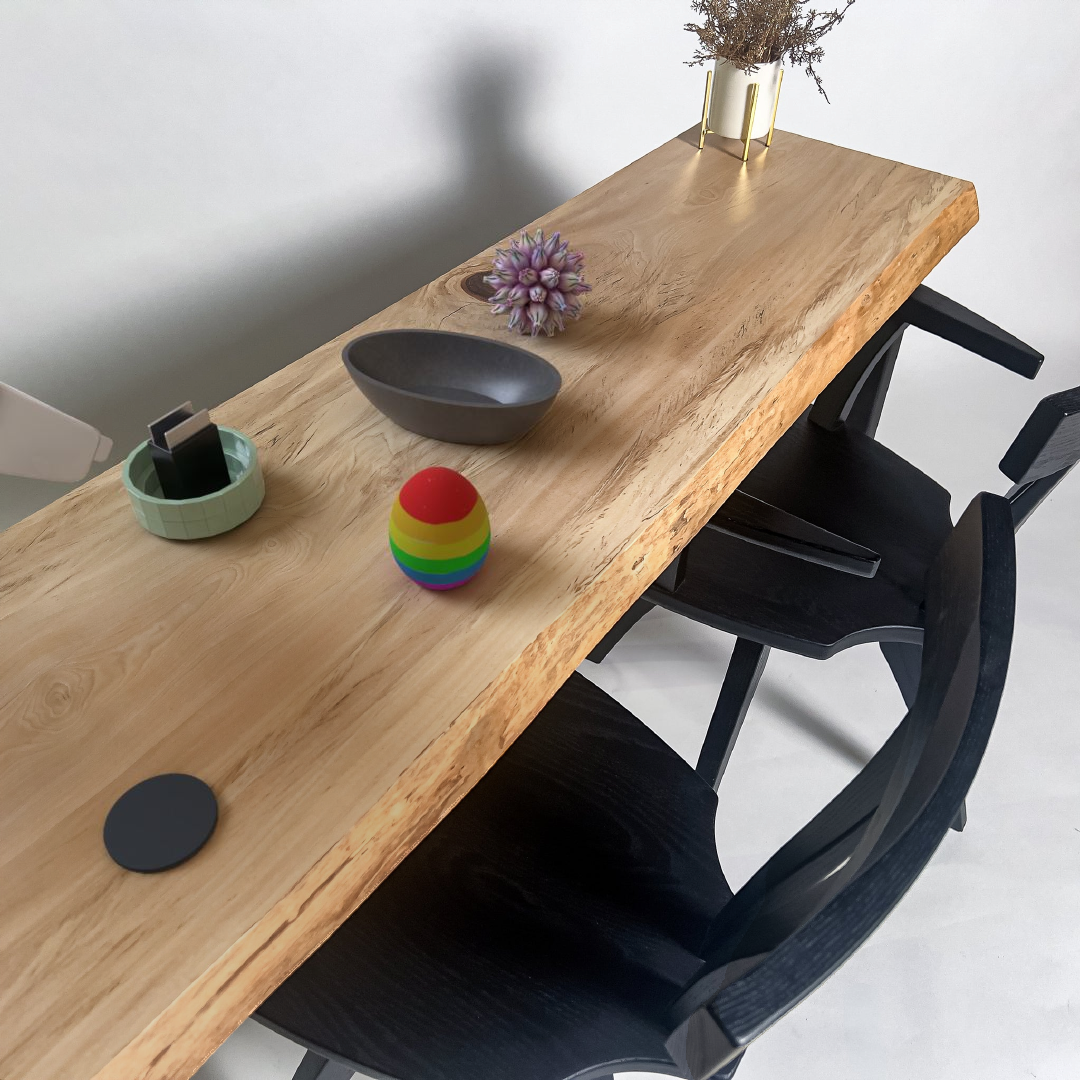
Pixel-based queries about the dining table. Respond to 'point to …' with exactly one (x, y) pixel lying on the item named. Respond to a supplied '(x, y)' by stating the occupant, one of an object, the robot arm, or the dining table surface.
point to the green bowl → (196, 513)
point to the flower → (537, 283)
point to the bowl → (452, 383)
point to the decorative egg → (439, 529)
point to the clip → (188, 454)
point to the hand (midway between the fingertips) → (60, 426)
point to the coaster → (160, 823)
